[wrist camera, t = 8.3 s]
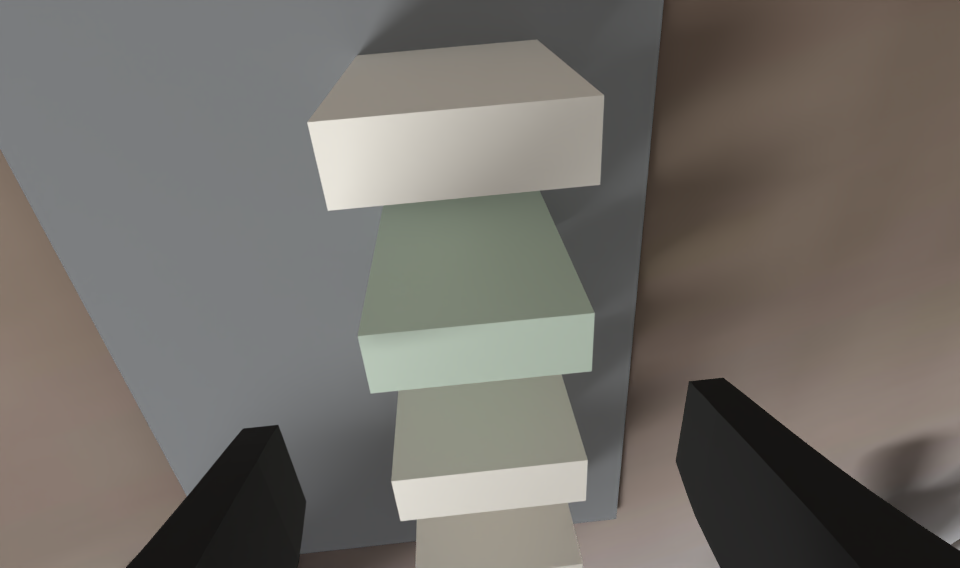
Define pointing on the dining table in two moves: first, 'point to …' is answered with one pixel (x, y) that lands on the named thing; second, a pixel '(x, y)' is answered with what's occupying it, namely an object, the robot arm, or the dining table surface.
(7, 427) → the dining table surface
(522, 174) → the white flat block
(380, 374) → the domino
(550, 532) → the domino
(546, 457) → the domino
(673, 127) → the dining table surface
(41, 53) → the mat
